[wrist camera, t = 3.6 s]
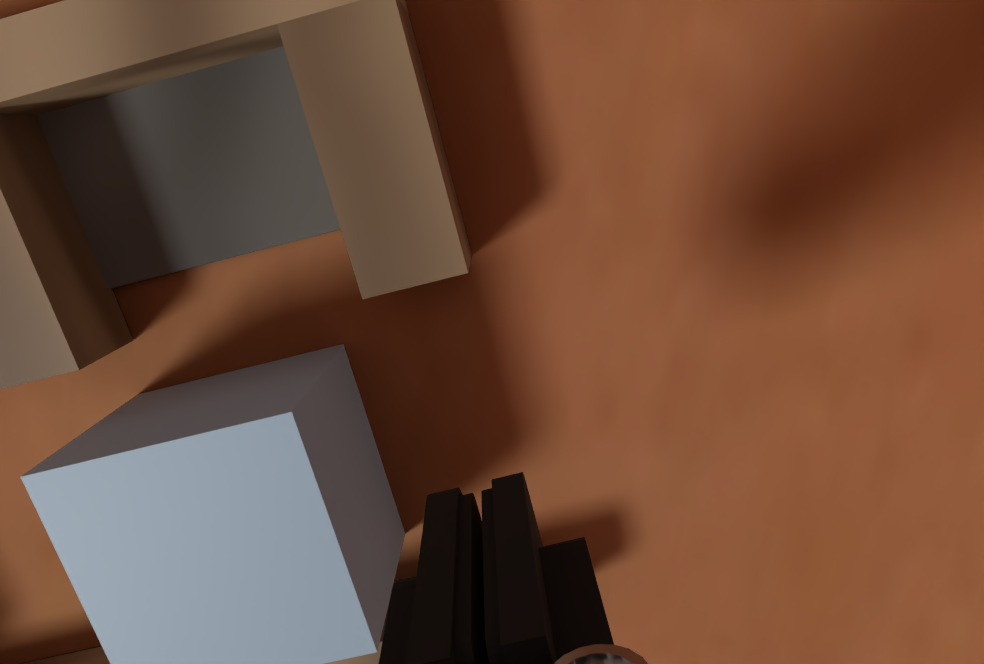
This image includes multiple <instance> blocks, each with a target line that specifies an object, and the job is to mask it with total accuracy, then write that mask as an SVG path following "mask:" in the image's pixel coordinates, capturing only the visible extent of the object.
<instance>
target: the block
mask: <svg viewBox="0 0 984 664" xmlns="http://www.w3.org/2000/svg"><path fill="white" fill-rule="evenodd" d="M21 479H22V481H23V483H24V485H25V487H26V489H27V491H28V494H29V496H30V498H31V500H32V502H33V504H34V506H35V508H36V510H37V512H38V514H39V516H40V518H41V521H42V523H43V525H44V527H45V529H46V531H47V533H48V535H49V537H50V539H51V541H52V543H53V546H54V548H55V550H56V552H57V554H58V556H59V558H60V560H61V562H62V564H63V566H64V568H65V571H66V573H67V575H68V577H69V579H70V581H71V583H72V585H73V587H74V589H75V591H76V593H77V595H78V598H79V600H80V602H81V604H82V606H83V608H84V610H85V612H86V614H87V616H88V618H89V620H90V623H91V625H92V627H93V629H94V631H95V633H96V635H97V637H98V639H99V641H100V643H101V645H102V647H103V650H104V652H105V654H106V656H107V658H108V660H109V662H110V664H324V663H329V662H334V661H338V660H343V659H348V658H352V657H357V656H362V655H367V654H371V653H376V652H377V651H378V647H379V643H380V638H381V634H382V630H383V626H384V621H385V617H386V613H387V609H388V604H389V600H390V596H391V591H392V587H393V583H394V579H395V575H396V570H397V566H398V562H399V558H400V554H401V549H402V545H403V541H404V537H405V532H404V528H403V525H402V522H401V519H400V516H399V513H398V510H397V507H396V504H395V501H394V498H393V495H392V492H391V489H390V485H389V482H388V479H387V476H386V473H385V470H384V467H383V464H382V461H381V458H380V455H379V452H378V449H377V445H376V442H375V439H374V436H373V433H372V430H371V427H370V424H369V421H368V418H367V415H366V412H365V409H364V406H363V402H362V399H361V396H360V393H359V390H358V387H357V384H356V381H355V378H354V375H353V372H352V369H351V366H350V363H349V359H348V356H347V353H346V350H345V347H344V344H341V345H337V346H333V347H329V348H324V349H320V350H316V351H312V352H308V353H304V354H300V355H296V356H292V357H288V358H284V359H280V360H276V361H272V362H268V363H264V364H259V365H255V366H251V367H247V368H243V369H239V370H235V371H231V372H227V373H223V374H219V375H215V376H211V377H207V378H203V379H198V380H194V381H190V382H186V383H182V384H178V385H174V386H170V387H166V388H162V389H158V390H154V391H150V392H146V393H142V394H138V395H136V396H135V397H133V398H132V399H131V400H129V401H128V402H126V403H125V404H123V405H122V406H121V407H119V408H118V409H116V410H115V411H114V412H112V413H111V414H109V415H108V416H106V417H105V418H104V419H102V420H101V421H99V422H98V423H96V424H95V425H94V426H92V427H91V428H89V429H88V430H87V431H85V432H84V433H82V434H81V435H79V436H78V437H77V438H75V439H74V440H72V441H71V442H69V443H68V444H67V445H65V446H64V447H62V448H61V449H60V450H58V451H57V452H55V453H54V454H52V455H51V456H50V457H48V458H47V459H45V460H44V461H42V462H41V463H40V464H38V465H37V466H35V467H34V468H33V469H31V470H30V471H28V472H27V473H25V474H24V475H23V476H21Z"/></svg>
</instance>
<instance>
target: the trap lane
mask: <svg viewBox="0 0 984 664" xmlns="http://www.w3.org/2000/svg"><path fill="white" fill-rule="evenodd" d="M340 229H341V232H342V235H343V239H344V242H345V245H346V248H347V251H348V255H349V258H350V261H351V264H352V268H353V271H354V274H355V277H356V280H357V284H358V287H359V290H360V293H361V296H362V299H366V298H370V297H374V296H378V295H382V294H386V293H390V292H394V291H398V290H402V289H406V288H410V287H414V286H418V285H422V284H426V283H430V282H434V281H438V280H442V279H446V278H451V277H455V276H459V275H463V274H467V273H468V272H469V267H470V263H471V258H472V253H471V249H470V245H469V241H468V238H467V234H466V230H465V226H464V222H463V219H462V215H461V211H460V207H459V203H458V199H457V196H456V192H455V188H454V184H453V180H452V177H451V173H450V169H449V165H448V161H447V158H446V154H445V150H444V146H443V142H442V139H441V135H440V131H439V127H438V123H437V120H436V116H435V112H434V108H433V104H432V101H431V97H430V93H429V89H428V85H427V81H426V78H425V74H424V70H423V66H422V62H421V59H420V55H419V51H418V47H417V43H416V40H415V36H414V32H413V28H412V24H411V21H410V17H409V13H408V9H407V5H406V2H405V0H64V1H60V2H57V3H54V4H50V5H47V6H43V7H40V8H36V9H33V10H30V11H26V12H23V13H19V14H16V15H13V16H9V17H6V18H2V19H0V387H1V389H5V388H9V387H13V386H17V385H21V384H25V383H29V382H33V381H37V380H41V379H45V378H49V377H53V376H57V375H61V374H65V373H69V372H73V371H77V370H80V369H82V368H84V367H86V366H87V365H89V364H91V363H93V362H95V361H96V360H98V359H100V358H102V357H104V356H106V355H107V354H109V353H111V352H113V351H115V350H117V349H118V348H120V347H122V346H124V345H126V344H128V343H129V342H131V341H133V338H132V336H131V334H130V331H129V329H128V326H127V324H126V321H125V319H124V316H123V314H122V312H121V309H120V307H119V304H118V302H117V299H116V297H115V294H114V292H113V289H112V288H115V287H119V286H123V285H126V284H130V283H134V282H138V281H142V280H146V279H150V278H154V277H157V276H161V275H165V274H169V273H173V272H177V271H181V270H185V269H189V268H192V267H196V266H200V265H204V264H208V263H212V262H216V261H220V260H223V259H227V258H231V257H235V256H239V255H243V254H247V253H251V252H255V251H258V250H262V249H266V248H270V247H274V246H278V245H282V244H286V243H290V242H293V241H297V240H301V239H305V238H309V237H313V236H317V235H321V234H324V233H328V232H332V231H336V230H340ZM393 584H394V583H393ZM389 602H390V600H389ZM388 608H389V604H388ZM387 613H388V609H387ZM387 613H386V617H385V621H384V626H383V630H382V634H381V638H380V643H379V647H378V651H377V652H376V653H371V654H367V655H362V656H357V657H352V658H348V659H343V660H338V661H334V662H329V663H324V664H379V658H380V653H381V647H382V641H383V636H384V630H385V625H386V619H387ZM23 664H110V662H109V660H108V658H107V656H106V654H105V652H104V650H103V647H97V648H92V649H88V650H83V651H79V652H74V653H69V654H65V655H60V656H55V657H51V658H46V659H42V660H37V661H32V662H28V663H23Z"/></svg>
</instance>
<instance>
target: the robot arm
mask: <svg viewBox="0 0 984 664" xmlns="http://www.w3.org/2000/svg"><path fill="white" fill-rule="evenodd" d="M379 664H648V663H647V662H646V661H645V659H644V658H643V657H642V656H640V655H638V654H637V653H635V652H633V651H632V650H630V649H628V648H624V647H621V646H617V645H614V643H613V639H612V636H611V632H610V628H609V625H608V621H607V618H606V614H605V610H604V607H603V603H602V599H601V596H600V592H599V588H598V585H597V581H596V578H595V574H594V570H593V567H592V563H591V559H590V556H589V552H588V548H587V545H586V541H585V538H584V537H582V538H578V539H574V540H570V541H566V542H561V543H557V544H553V545H549V546H544V547H543V545H542V541H541V537H540V533H539V530H538V526H537V522H536V518H535V515H534V511H533V507H532V503H531V500H530V496H529V492H528V488H527V485H526V481H525V478H524V474H523V472H521V473H517V474H513V475H509V476H505V477H501V478H496V479H492V488H491V489H487V490H483V491H482V520H481V517H480V513H479V510H478V506H477V503H476V500H475V497H474V494H473V493H470V494H466V495H462V492H461V490H460V488H455V489H451V490H447V491H442V492H438V493H434V494H430V495H428V496H427V501H426V509H425V517H424V525H423V533H422V540H421V548H420V556H419V564H418V572H417V577H413V578H409V579H404V580H400V581H396V582H395V583H394V584H393V587H392V591H391V596H390V602H389V608H388V613H387V619H386V625H385V630H384V636H383V641H382V647H381V653H380V658H379Z"/></svg>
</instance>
